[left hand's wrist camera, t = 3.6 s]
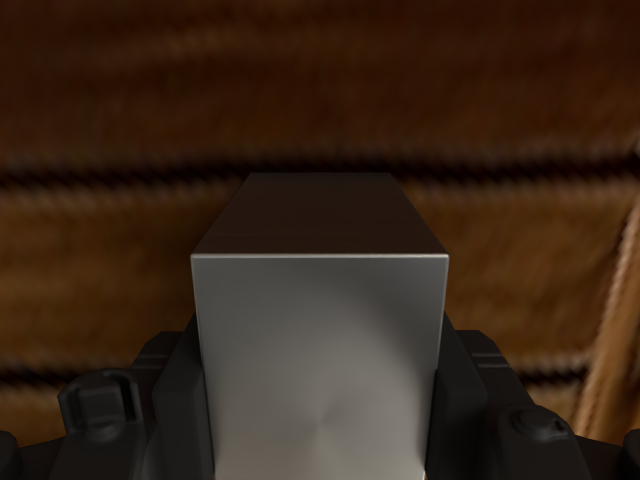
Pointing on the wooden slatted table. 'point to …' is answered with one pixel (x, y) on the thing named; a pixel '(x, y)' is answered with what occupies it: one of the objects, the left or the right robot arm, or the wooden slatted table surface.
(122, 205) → the wooden slatted table surface
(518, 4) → the wooden slatted table surface
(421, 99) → the wooden slatted table surface
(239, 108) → the wooden slatted table surface
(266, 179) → the brick
